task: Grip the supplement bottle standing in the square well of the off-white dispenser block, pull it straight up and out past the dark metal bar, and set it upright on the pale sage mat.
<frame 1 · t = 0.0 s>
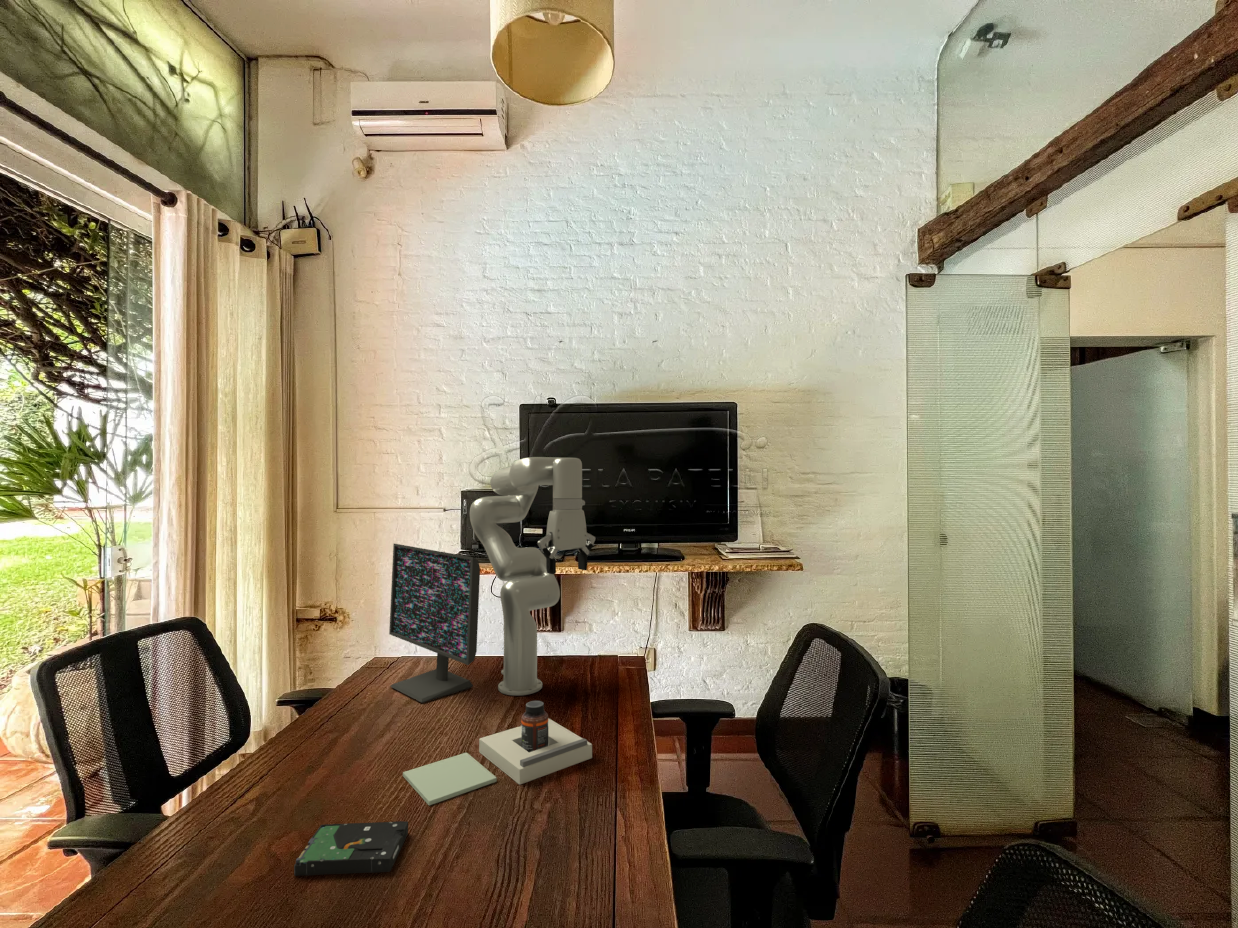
hand: (567, 571, 156), 37 cm above the table, tool pointing down, fingers open, 9 cm apart
sage mat: (449, 778, 123), on the table
supplement bottle: (535, 755, 134), resting in dispenser block
dispenser block: (535, 754, 134), on the table
computer monitor: (431, 688, 174), on the table
disk drive: (354, 857, 99), on the table
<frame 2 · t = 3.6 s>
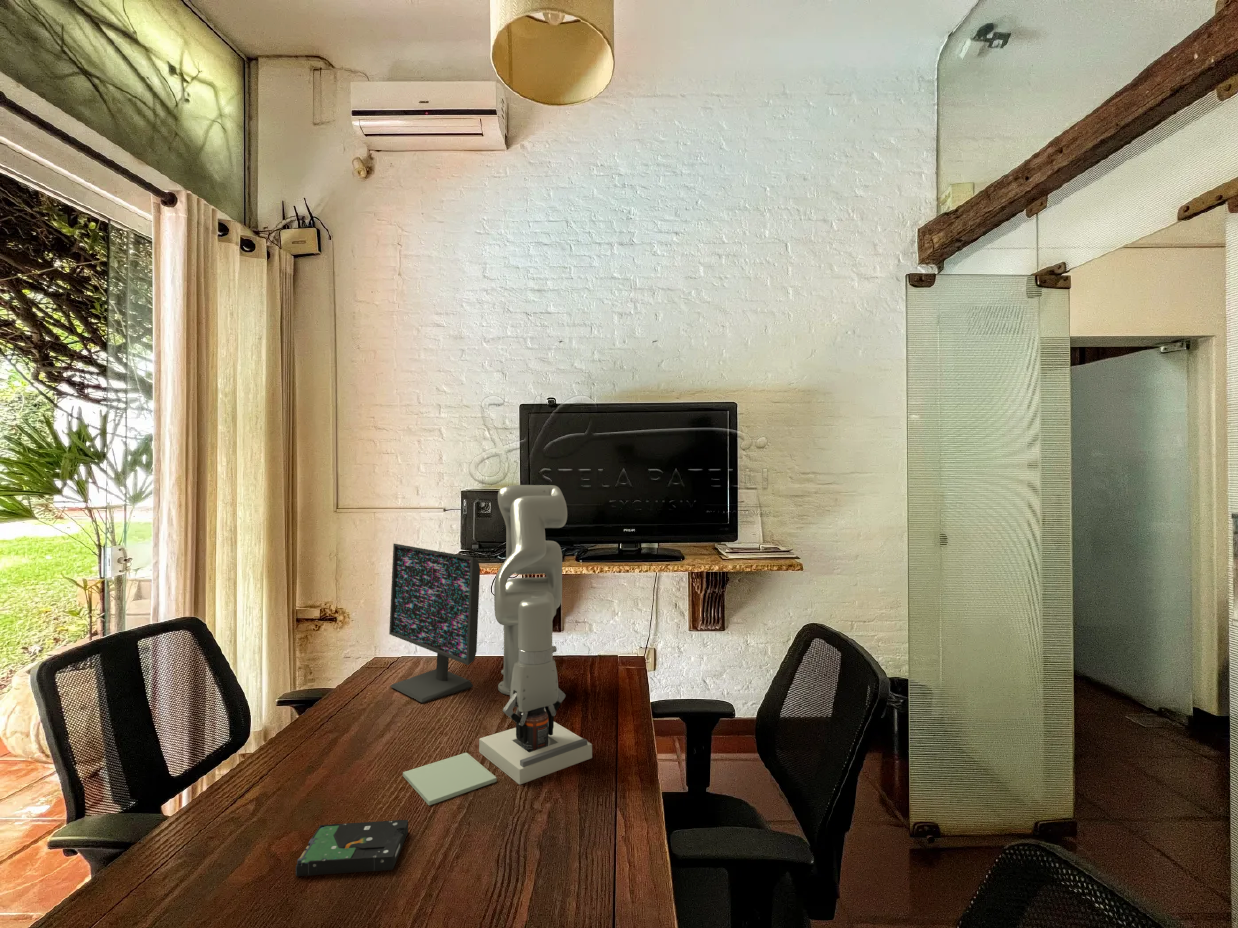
hand: (535, 736, 134), 4 cm above the table, tool pointing down, fingers closed on supplement bottle, 6 cm apart
supplement bottle: (535, 755, 134), resting in dispenser block, touching gripper
everything else where it was.
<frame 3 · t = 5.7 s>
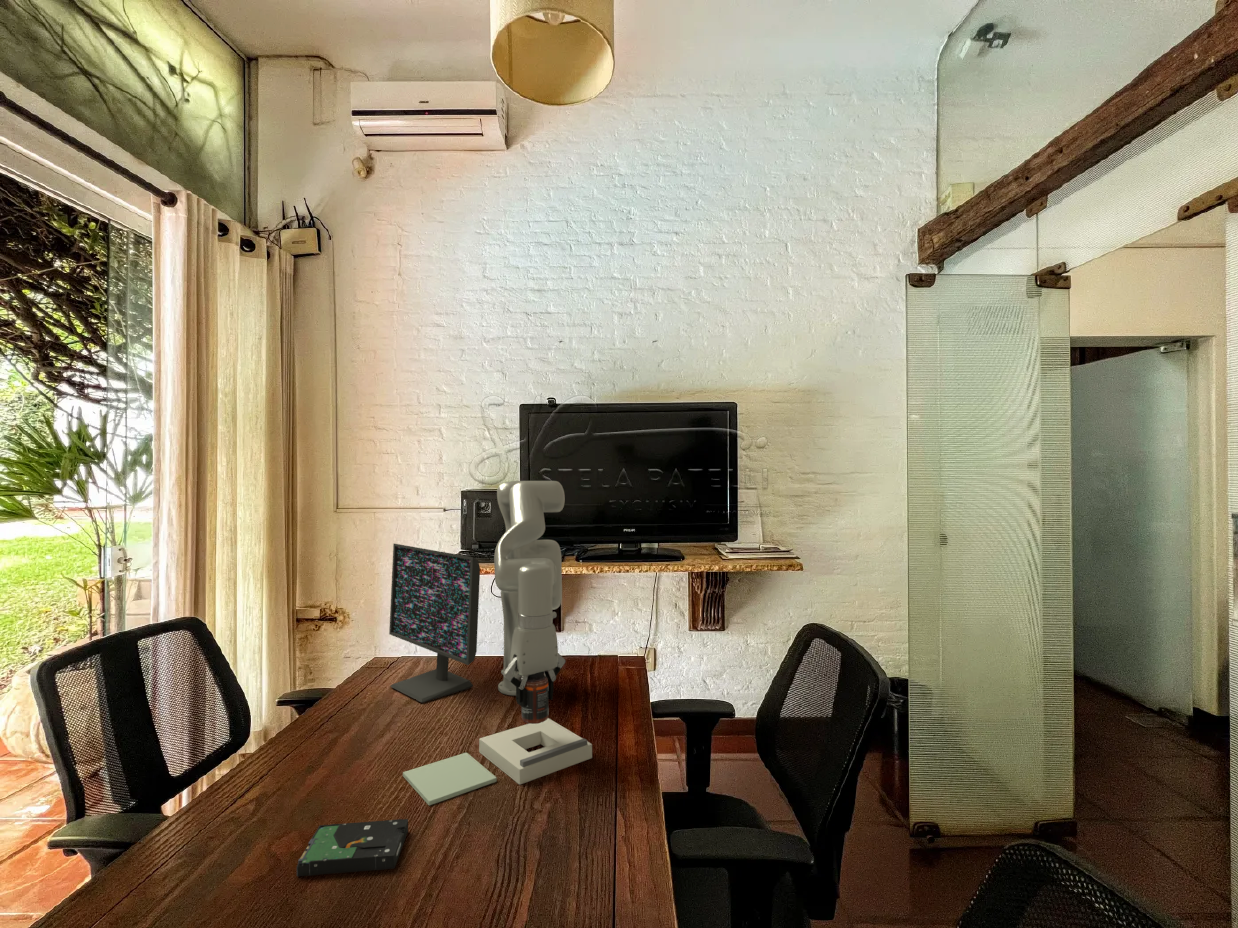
hand: (534, 700, 134), 12 cm above the table, tool pointing down, fingers closed on supplement bottle, 6 cm apart
supplement bottle: (534, 719, 134), point 7 cm above the table, touching gripper
everything else where it was.
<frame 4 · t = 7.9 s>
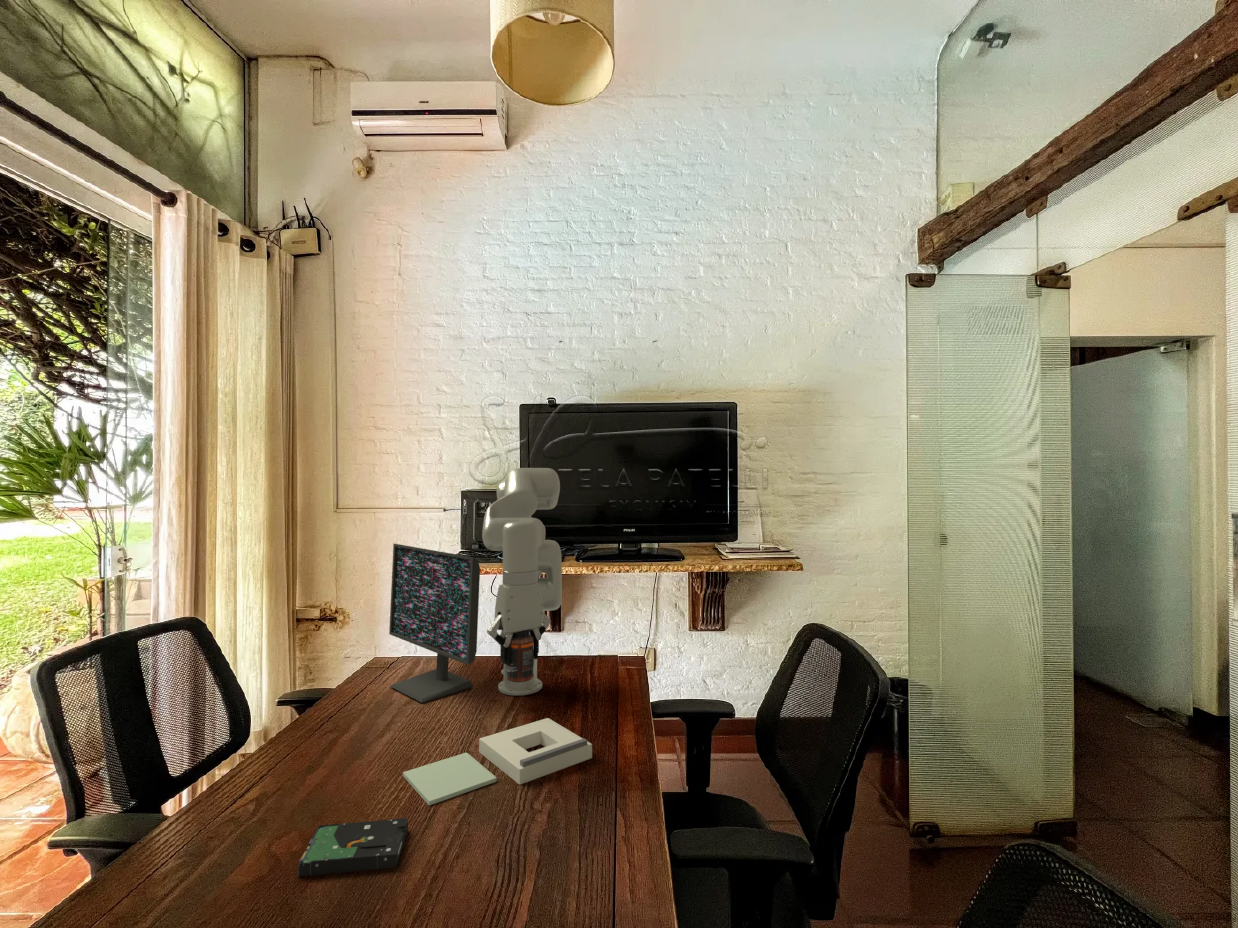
hand: (519, 659, 132), 22 cm above the table, tool pointing down, fingers closed on supplement bottle, 6 cm apart
supplement bottle: (520, 679, 132), point 17 cm above the table, touching gripper
everything else where it was.
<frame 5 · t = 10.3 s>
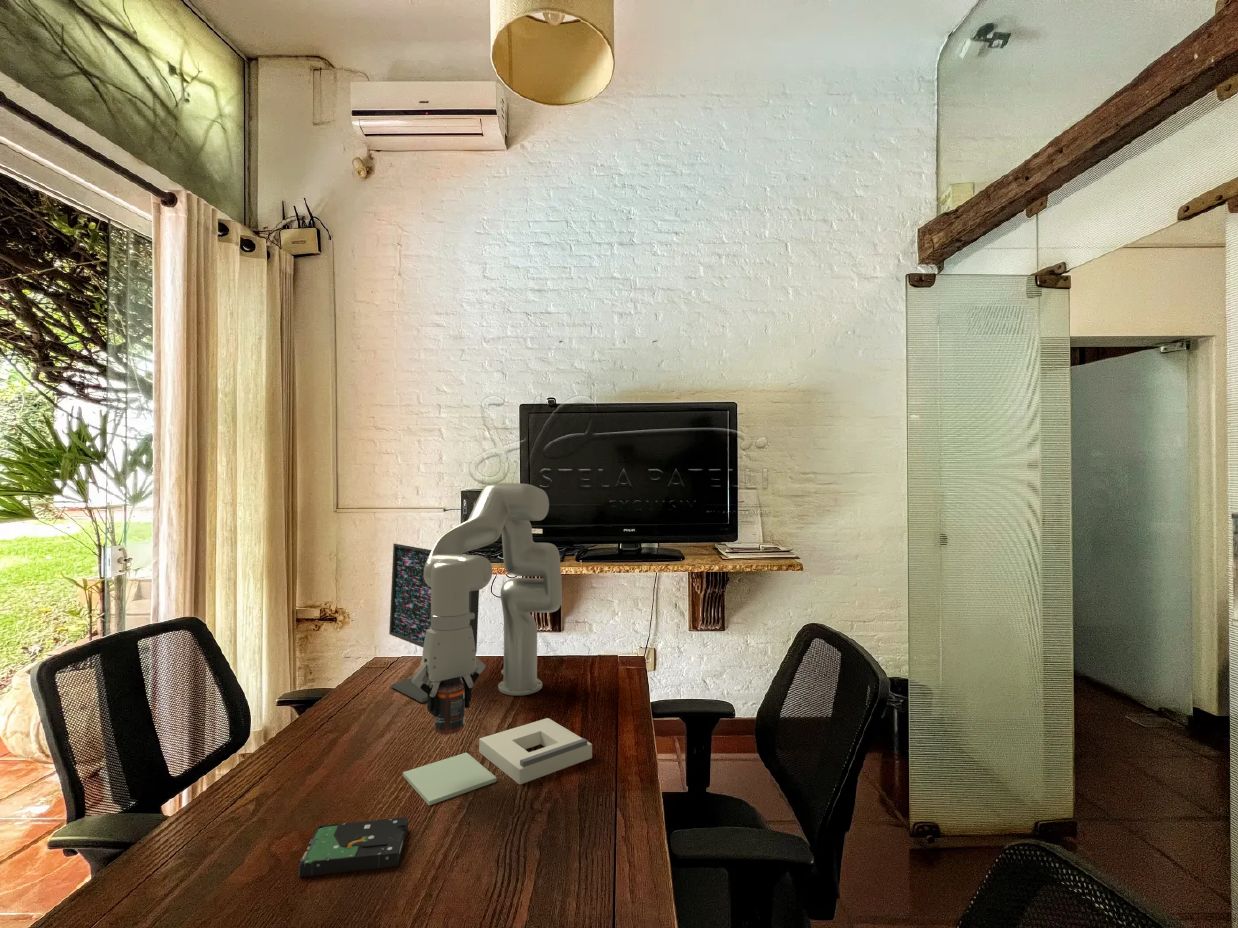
hand: (449, 709, 123), 14 cm above the table, tool pointing down, fingers closed on supplement bottle, 6 cm apart
supplement bottle: (449, 730, 123), point 10 cm above the table, touching gripper
everything else where it was.
when the fingers open (6 cm above the table, at t = 12.2 s): supplement bottle drops 1 cm, resting on sage mat.
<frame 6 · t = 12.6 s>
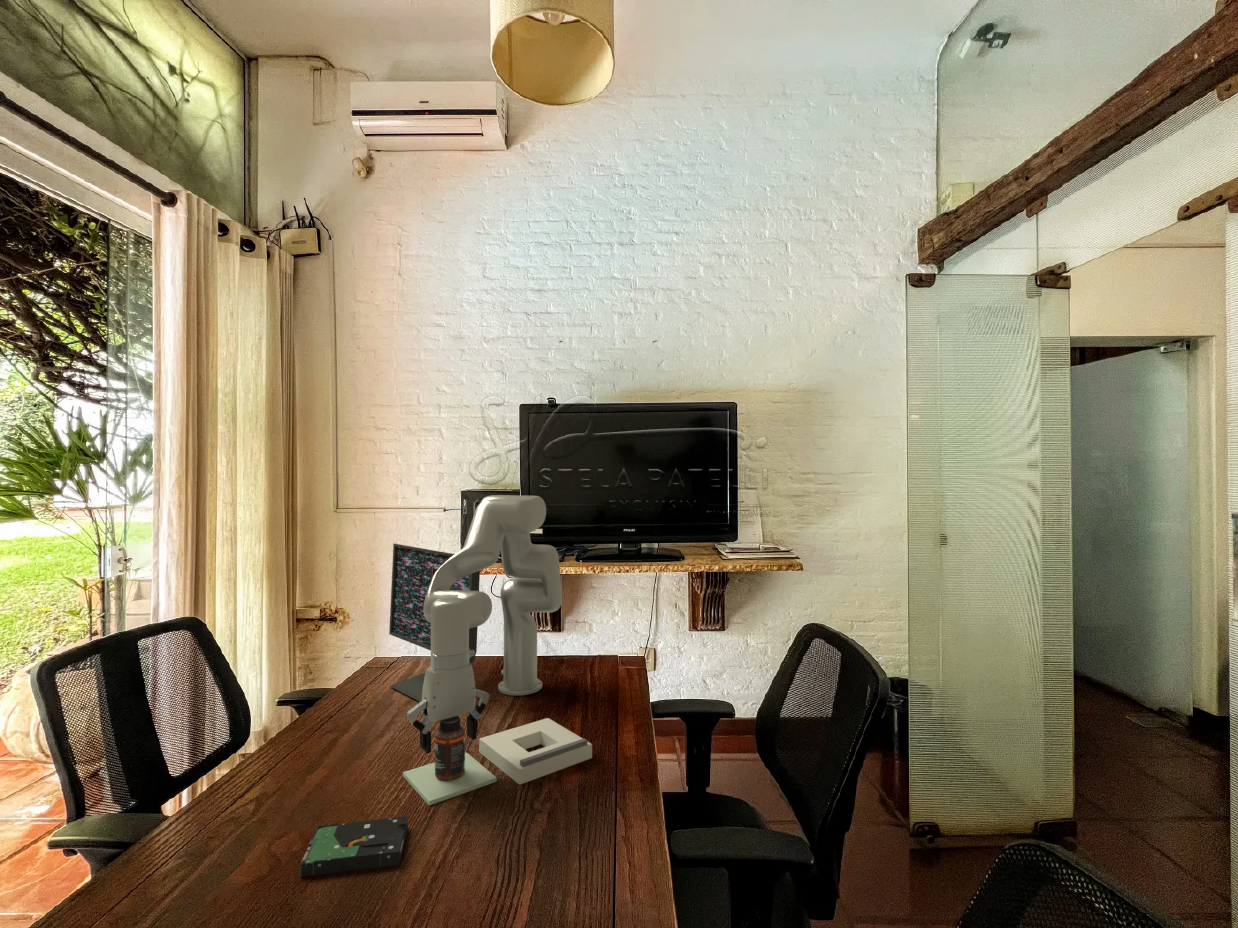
hand: (449, 743, 123), 7 cm above the table, tool pointing down, fingers open, 9 cm apart
supplement bottle: (449, 775, 124), point 1 cm above the table, touching sage mat
everything else where it was.
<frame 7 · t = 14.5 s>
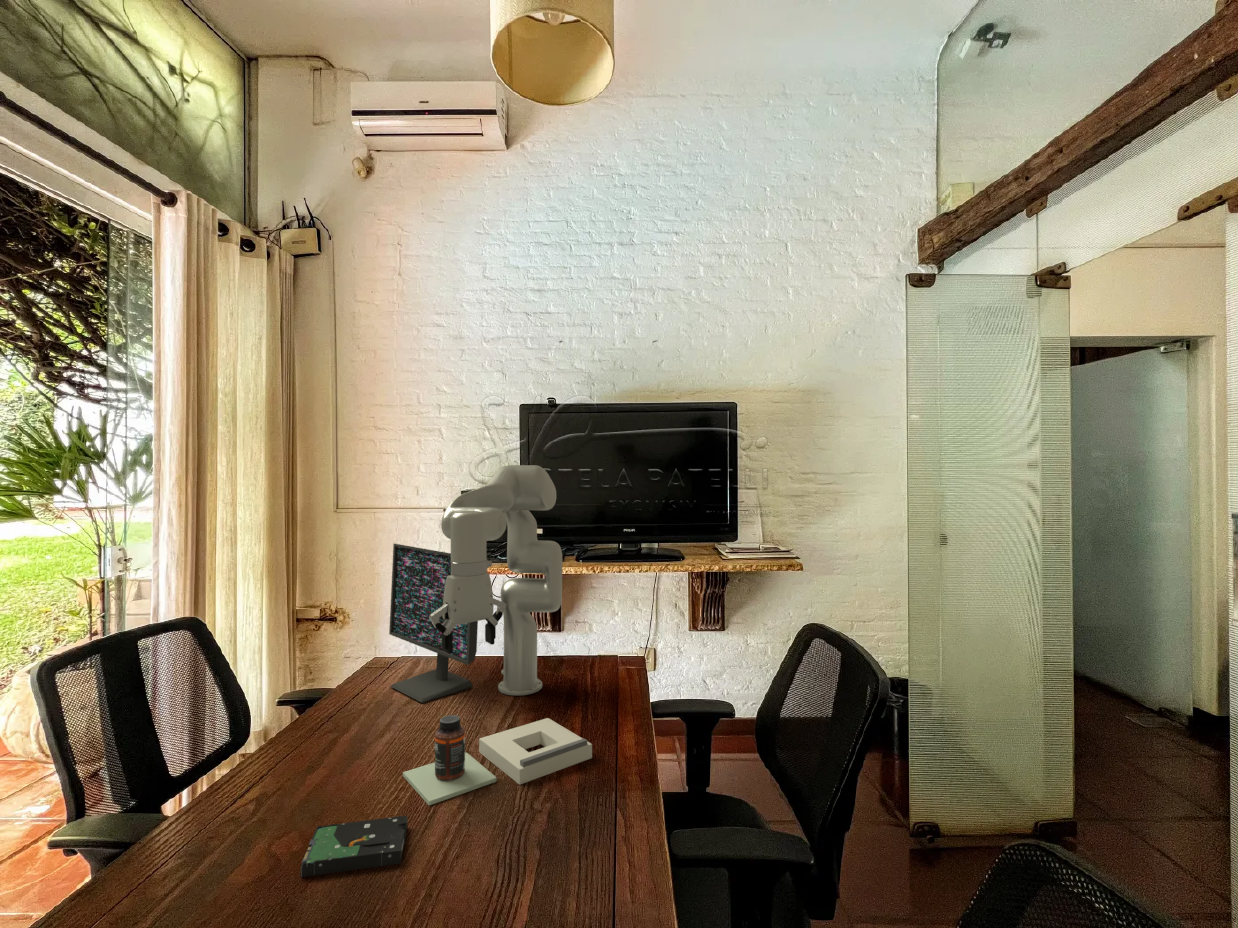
hand: (469, 647, 131), 25 cm above the table, tool pointing down, fingers open, 9 cm apart
nothing on the table moved.
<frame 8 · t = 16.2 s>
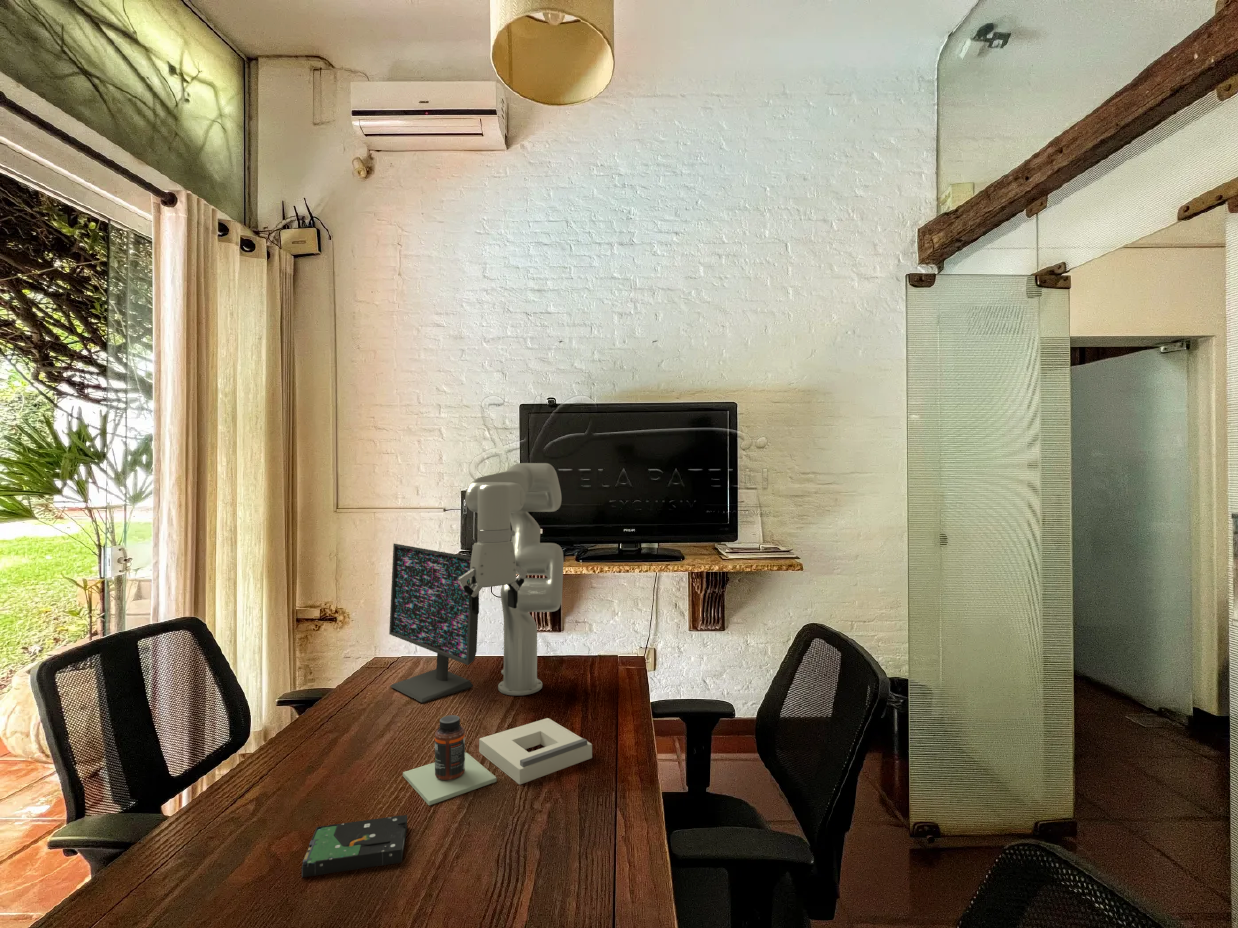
hand: (493, 610, 141), 30 cm above the table, tool pointing down, fingers open, 9 cm apart
at the end: supplement bottle inside the target area on the sage mat (0.2 cm from its centre), point 0.6 cm above the sage mat's base; supplement bottle tilted 0°; the gripper is holding nothing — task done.
